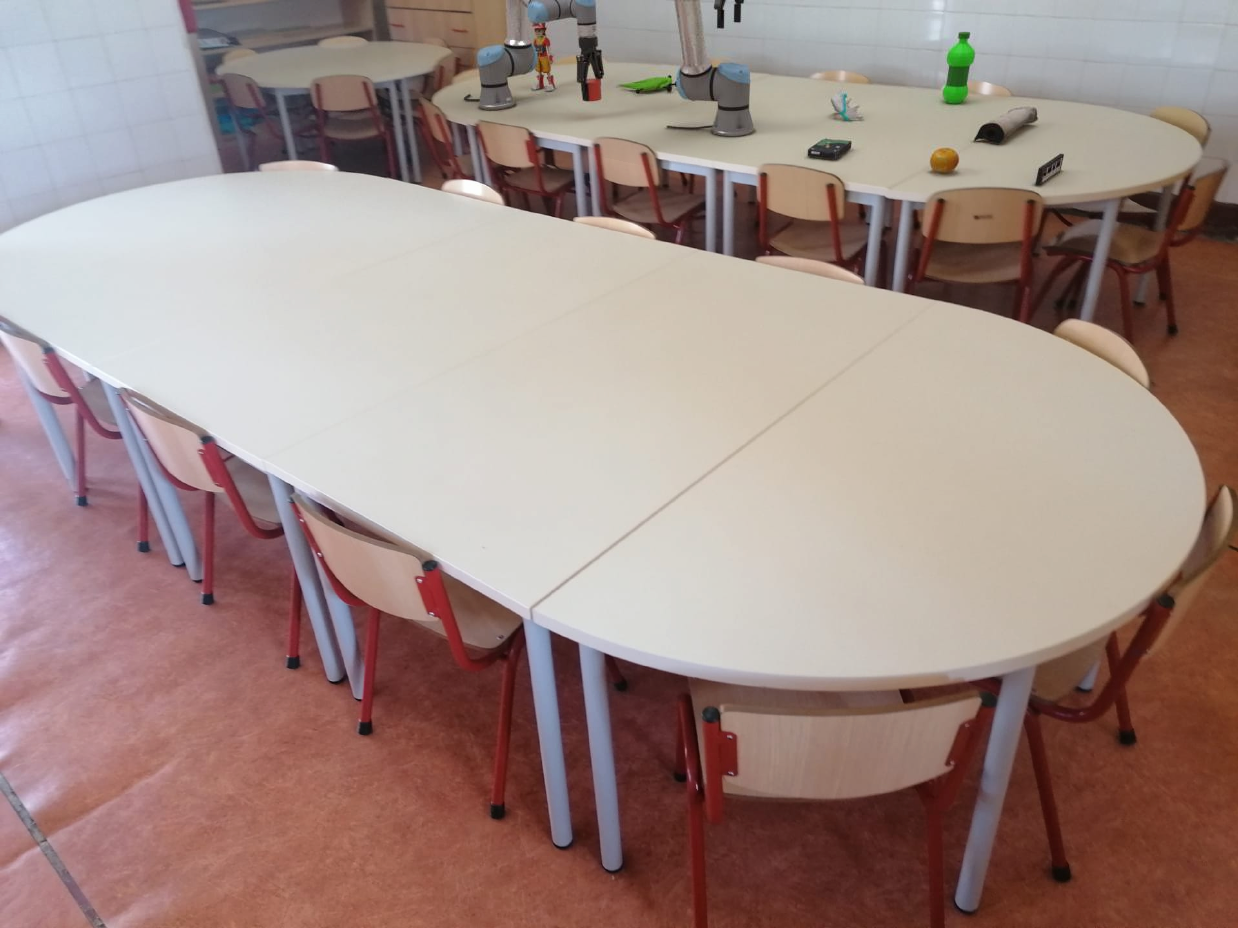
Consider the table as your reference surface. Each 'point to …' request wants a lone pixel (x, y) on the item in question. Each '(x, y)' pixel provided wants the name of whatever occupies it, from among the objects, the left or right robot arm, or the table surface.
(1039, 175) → the midi keyboard
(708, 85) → the right robot arm
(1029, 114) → the rolled mat
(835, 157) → the disk drive
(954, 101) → the plastic bottle
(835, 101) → the anatomical model
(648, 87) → the toy
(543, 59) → the toy
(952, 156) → the fruit
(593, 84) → the canister
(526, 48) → the left robot arm
